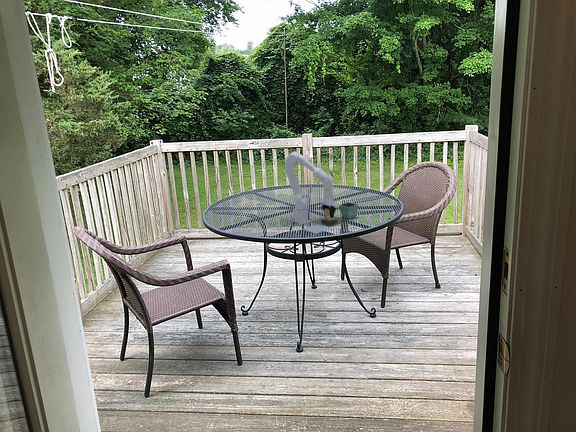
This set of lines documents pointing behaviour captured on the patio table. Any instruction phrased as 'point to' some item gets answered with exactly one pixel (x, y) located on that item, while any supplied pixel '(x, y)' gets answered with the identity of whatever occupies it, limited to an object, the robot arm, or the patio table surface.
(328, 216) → the peg
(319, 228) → the board
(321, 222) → the socket base
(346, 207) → the flower pot
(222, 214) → the patio table surface
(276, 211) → the patio table surface
